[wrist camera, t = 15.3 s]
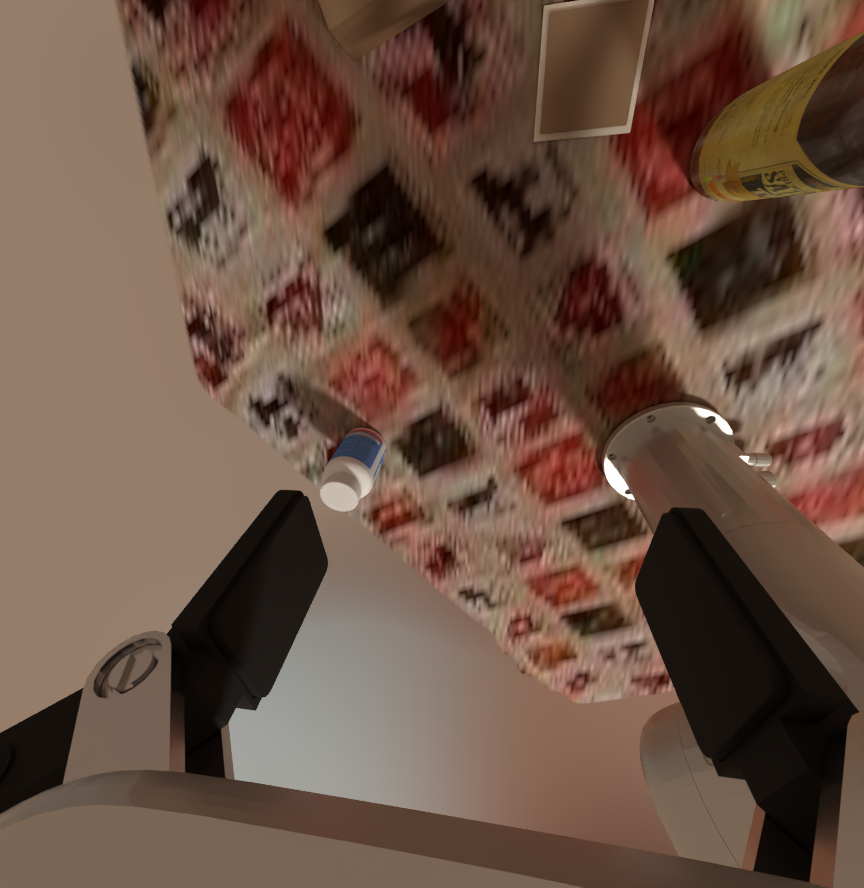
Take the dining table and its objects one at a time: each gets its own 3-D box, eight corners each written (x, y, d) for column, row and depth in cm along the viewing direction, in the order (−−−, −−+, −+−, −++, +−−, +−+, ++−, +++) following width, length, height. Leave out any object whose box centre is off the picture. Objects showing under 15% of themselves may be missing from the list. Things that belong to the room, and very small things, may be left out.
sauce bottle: (676, 210, 27) (977, 183, 11) (695, 104, 24) (1165, -175, 7) (773, 194, 26) (1287, 135, 9) (806, 79, 23) (1673, -321, 6)
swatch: (655, -10, 22) (658, -14, 21) (629, 133, 25) (631, 131, 25) (543, 7, 23) (544, 3, 22) (533, 142, 26) (534, 141, 26)
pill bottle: (338, 430, 43) (302, 479, 34) (378, 422, 41) (351, 470, 33) (355, 466, 45) (326, 519, 37) (393, 459, 44) (372, 513, 36)
